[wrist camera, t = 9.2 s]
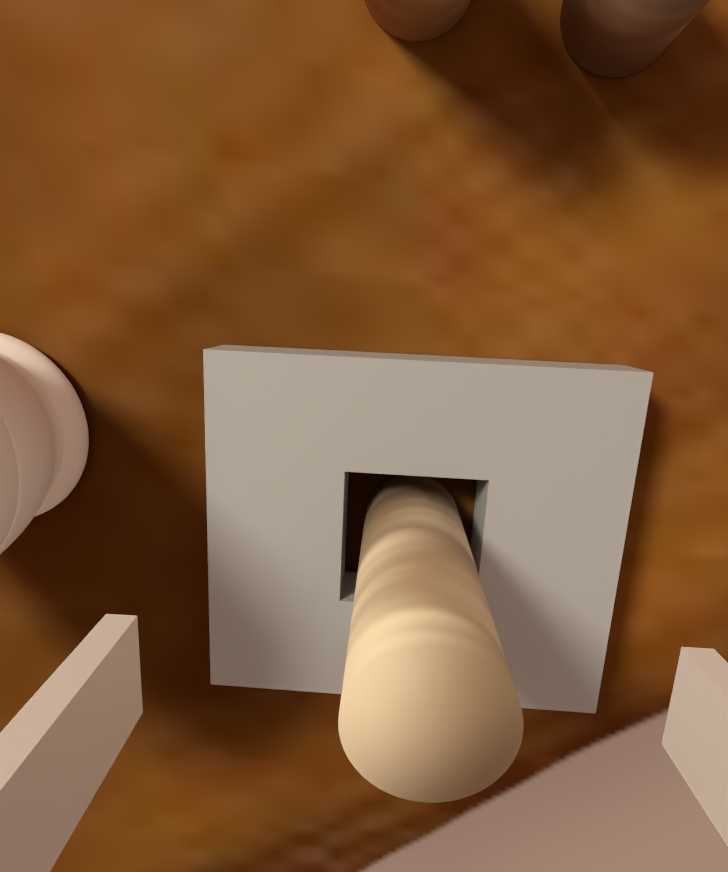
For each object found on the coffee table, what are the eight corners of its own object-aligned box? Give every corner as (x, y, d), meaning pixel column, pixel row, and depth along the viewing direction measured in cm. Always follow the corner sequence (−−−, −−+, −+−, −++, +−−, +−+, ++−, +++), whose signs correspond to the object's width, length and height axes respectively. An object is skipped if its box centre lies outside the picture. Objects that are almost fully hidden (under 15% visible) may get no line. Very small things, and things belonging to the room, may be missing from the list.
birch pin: (363, 558, 24) (335, 795, 12) (367, 471, 23) (341, 639, 11) (454, 564, 24) (513, 809, 12) (462, 476, 23) (534, 653, 11)
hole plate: (227, 648, 25) (210, 684, 23) (224, 344, 22) (203, 349, 20) (575, 673, 25) (595, 713, 22) (623, 365, 22) (653, 372, 19)
